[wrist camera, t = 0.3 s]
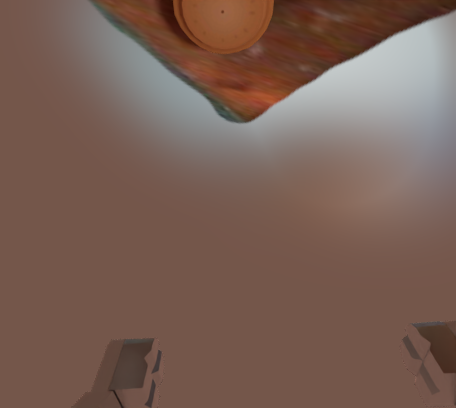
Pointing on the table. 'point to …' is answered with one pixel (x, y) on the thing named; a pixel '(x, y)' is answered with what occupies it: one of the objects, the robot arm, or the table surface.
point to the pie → (223, 22)
